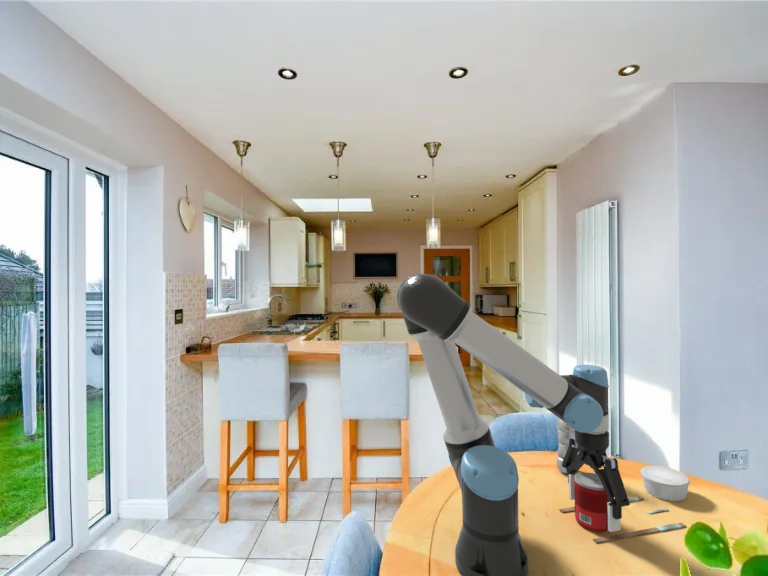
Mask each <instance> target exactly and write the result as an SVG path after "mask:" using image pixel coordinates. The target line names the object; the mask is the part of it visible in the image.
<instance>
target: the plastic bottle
mask: <svg viewBox="0 0 768 576" xmlns="http://www.w3.org/2000/svg"><path fill="white" fill-rule="evenodd" d="M556 429H557V430H556V431H557V436H558V453H557V457H556V466H557V469H558V470H559V472H561V473H563V474H566V475H568V473H567V471H566V468H563V467H562V462H563V460H564V457H565V455H566V452H567V450H568V447H569V439H571V438H575V429H573V428H571V427H569V426H568V425H567V424H566V423H565V422H564V421H562V420H561V419H560V418H558V420H557V422H556ZM578 454H579V453H578ZM578 454H577V455H578ZM576 473H578V472H576Z"/></svg>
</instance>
